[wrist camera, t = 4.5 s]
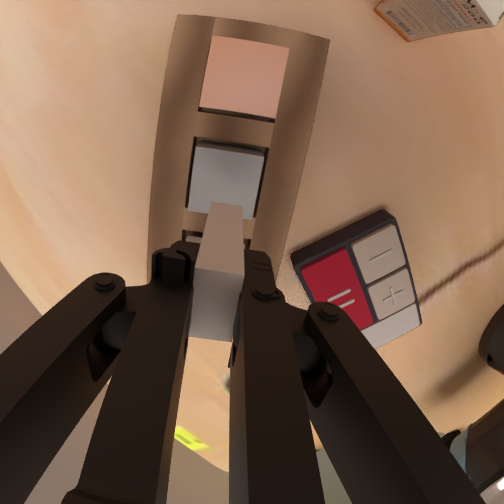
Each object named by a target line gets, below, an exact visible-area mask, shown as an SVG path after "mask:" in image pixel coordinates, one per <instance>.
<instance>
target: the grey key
mask: <svg viewBox="0 0 504 504" xmlns="http://www.w3.org/2000/svg"><path fill="white" fill-rule="evenodd" d="M263 161H264V155H263V153H262V152H261V150H260V149H256V148H250V147H244V146H238V145H231V144H224V143H218V142H210V141H203V140H202V141H201V142H200V143H199V144H198V145H197V146H196V150H195V157H194V164H193V171H192V179H191V187H190V195H189V204H188V211H193V212H200V213H207V214H209V210H210V206H211V202H217V203H224V204H231V205H237V206H242V214H243V219H248V220H252V218H253V212H254V207H255V202H256V197H257V192H258V187H259V182H260V176H261V171H262V166H263Z"/></svg>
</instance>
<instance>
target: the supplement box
mask: <svg viewBox="0 0 504 504" xmlns="http://www.w3.org/2000/svg"><path fill="white" fill-rule="evenodd" d="M375 11H376V12H377V13H378V14H379V15H380V16H381V17H382V18H383V19H384V20H385V21H387V22H388V23H389V24H390V25H391V26H392V27H393V28H394V29H395V30H396V31H397V32H398V33H399V34H400V35H401V36H402V37H403V38H404V39H405V40H406V41H407V42H410V41H414V40H419V39H423V38H428V37H433V36H438V35H442V34H448V33H454V32H460V31H467V30H474V29H482V28H489V27H495V26H496V25H497V24H498V22H499V21H500V20H501V18H502V17H503V15H504V0H384V1H383V2H382V3H380V4H379V5H378V6H377V7H376V8H375Z"/></svg>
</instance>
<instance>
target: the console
mask: <svg viewBox="0 0 504 504" xmlns="http://www.w3.org/2000/svg"><path fill="white" fill-rule="evenodd" d="M212 36H221V37H229V38H236V39H243V40H249V41H255V42H261V43H266V44H272V45H277V46H281V47H286V48H289V53H288V58H287V63H286V68H285V73H284V78H283V83H282V88H281V93H280V98H279V103H278V108H277V113H276V118H270V117H264V116H259V115H253V114H247V113H241V112H235V111H228V110H221V109H214V108H206V107H199V104H200V98H201V92H202V87H203V81H204V76H205V70H206V65H207V60H208V55H209V50H210V45H211V40H212ZM329 43H330V40H329V39H326V38H322V37H319V36H315V35H311V34H307V33H303V32H299V31H295V30H291V29H286V28H281V27H276V26H271V25H266V24H261V23H255V22H249V21H242V20H235V19H227V18H219V17H209V16H197V15H182V14H178V15H177V20H176V24H175V29H174V33H173V38H172V43H171V48H170V53H169V58H168V63H167V69H166V74H165V80H164V86H163V92H162V99H161V105H160V112H159V119H158V127H157V135H156V143H155V152H154V162H153V172H152V184H151V196H150V211H149V229H148V254H147V284H149V282H150V280H151V264H152V254H153V253H154V252H155V251H157V250H159V249H162V248H170V247H171V245H172V244H174V243H175V242H177V241H178V240H181V241H186V239H187V236H194V237H201V238H202V237H203V233H204V229H205V225H206V221H207V217H208V214H207V213H200V212H193V211H188V204H189V195H190V187H191V179H192V171H193V164H194V157H195V150H196V146H197V145H198V144H199V143H200V142H201V141H202V140H203V141H210V142H218V143H224V144H231V145H238V146H244V147H250V148H256V149H260V150H261V152H262V153H263V155H264V161H263V166H262V171H261V176H260V182H259V187H258V192H257V197H256V202H255V207H254V212H253V218H252V220H248V219H243V243H244V244H245V249H249V250H256V251H263V252H265V253H266V254H267V255H268V256H269V257H270V258H271V263H272V268H273V273H274V278H275V283H276V279H277V275H278V271H279V267H280V263H281V259H282V255H283V251H284V247H285V243H286V239H287V235H288V231H289V227H290V223H291V218H292V214H293V210H294V206H295V202H296V197H297V193H298V189H299V184H300V180H301V176H302V171H303V167H304V162H305V158H306V154H307V149H308V145H309V140H310V135H311V131H312V126H313V122H314V117H315V112H316V108H317V103H318V98H319V93H320V88H321V83H322V79H323V74H324V69H325V64H326V59H327V53H328V48H329Z"/></svg>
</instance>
